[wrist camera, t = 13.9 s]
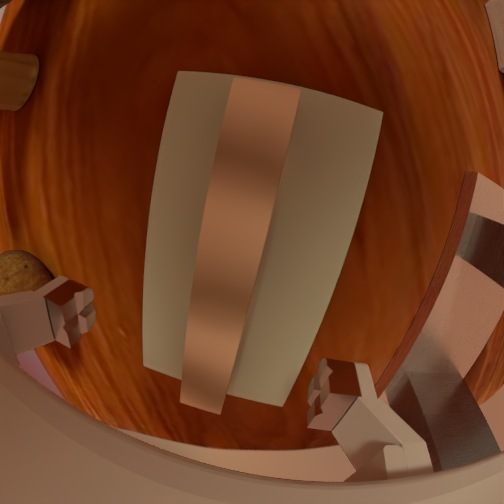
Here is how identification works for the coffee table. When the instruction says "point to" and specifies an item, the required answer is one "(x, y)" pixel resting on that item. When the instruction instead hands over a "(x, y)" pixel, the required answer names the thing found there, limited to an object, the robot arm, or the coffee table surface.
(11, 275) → the fruit
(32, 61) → the vase
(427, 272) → the coffee table surface
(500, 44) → the small box
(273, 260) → the mat
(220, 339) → the rail
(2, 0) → the tabletop clock
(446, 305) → the rail stand
